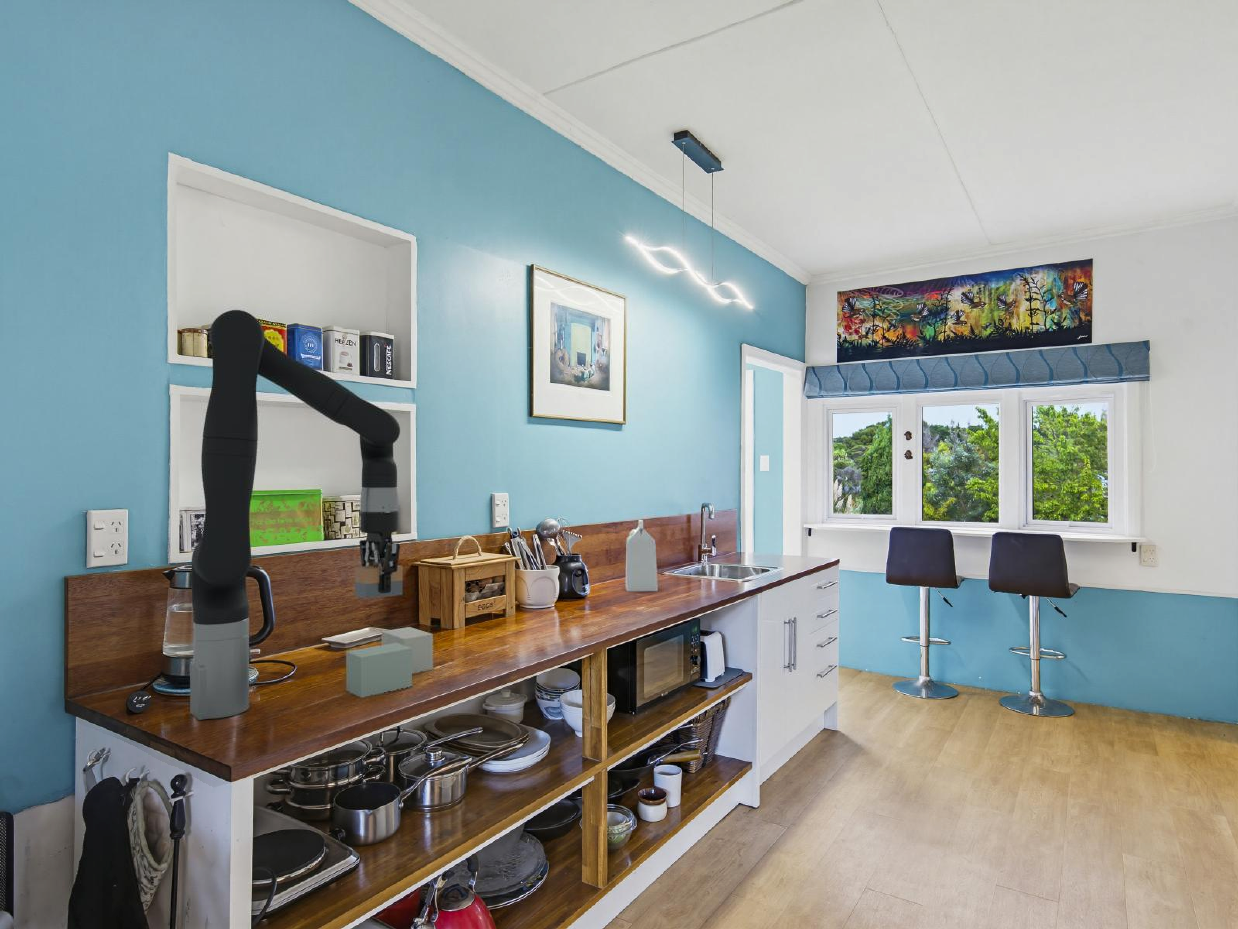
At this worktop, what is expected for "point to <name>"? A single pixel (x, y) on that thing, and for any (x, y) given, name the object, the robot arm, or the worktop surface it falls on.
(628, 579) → the milk
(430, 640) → the stand
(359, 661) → the stand
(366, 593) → the bottom plate
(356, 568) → the top plate
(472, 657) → the worktop surface
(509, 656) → the worktop surface
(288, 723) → the worktop surface
